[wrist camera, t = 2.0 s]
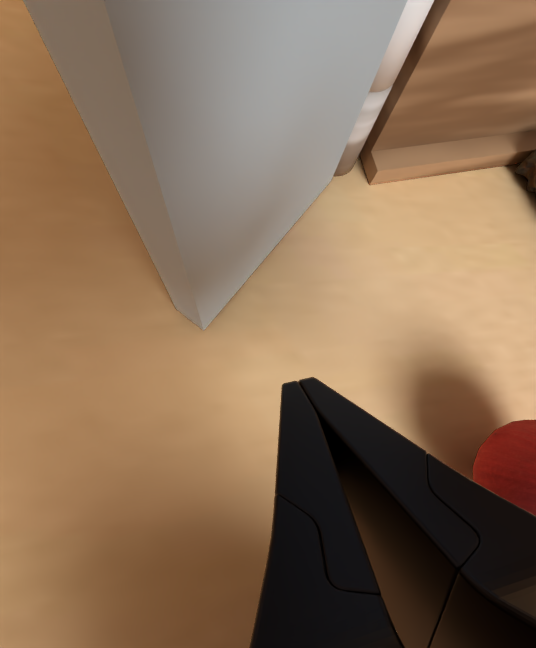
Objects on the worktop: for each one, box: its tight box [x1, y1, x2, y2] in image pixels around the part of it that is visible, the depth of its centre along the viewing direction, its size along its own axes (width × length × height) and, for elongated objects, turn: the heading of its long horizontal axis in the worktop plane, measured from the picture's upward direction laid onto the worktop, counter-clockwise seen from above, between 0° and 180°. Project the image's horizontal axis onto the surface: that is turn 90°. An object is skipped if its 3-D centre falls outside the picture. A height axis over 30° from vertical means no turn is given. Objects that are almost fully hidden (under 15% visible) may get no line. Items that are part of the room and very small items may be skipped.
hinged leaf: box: [23, 0, 434, 330], centre depth 14 cm, size 3×16×18 cm, turn 143°
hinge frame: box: [333, 0, 536, 185], centre depth 17 cm, size 5×16×18 cm, turn 103°
